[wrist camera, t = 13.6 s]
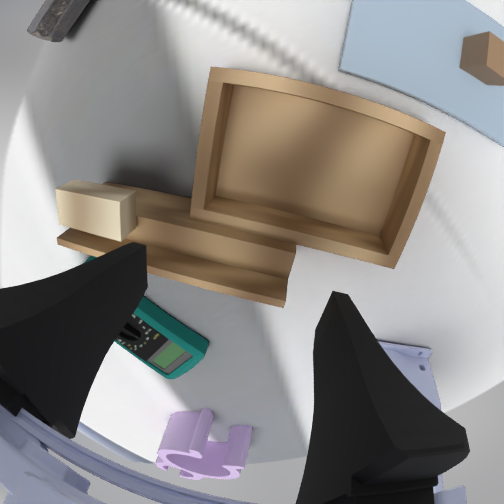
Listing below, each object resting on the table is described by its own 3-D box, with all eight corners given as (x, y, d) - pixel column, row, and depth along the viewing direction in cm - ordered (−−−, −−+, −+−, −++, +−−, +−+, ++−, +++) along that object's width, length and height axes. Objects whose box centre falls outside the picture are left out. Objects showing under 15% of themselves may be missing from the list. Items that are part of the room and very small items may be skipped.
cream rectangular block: (136, 190, 15) (119, 202, 14) (136, 227, 16) (121, 241, 15) (73, 179, 15) (55, 188, 14) (76, 213, 17) (59, 224, 15)
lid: (511, 45, 9) (550, 42, 5) (494, 143, 14) (535, 160, 10) (357, -36, 10) (371, -69, 6) (336, 72, 15) (349, 61, 10)
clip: (210, 455, 46) (202, 484, 40) (152, 430, 44) (140, 459, 38) (267, 431, 36) (261, 472, 30) (190, 398, 34) (174, 442, 28)
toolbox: (423, 126, 15) (474, 141, 9) (371, 271, 21) (389, 329, 15) (113, 68, 16) (52, 68, 10) (106, 208, 21) (57, 244, 16)
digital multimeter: (92, 246, 24) (74, 262, 22) (214, 339, 27) (206, 361, 25) (76, 287, 28) (61, 303, 25) (179, 366, 31) (171, 385, 28)
